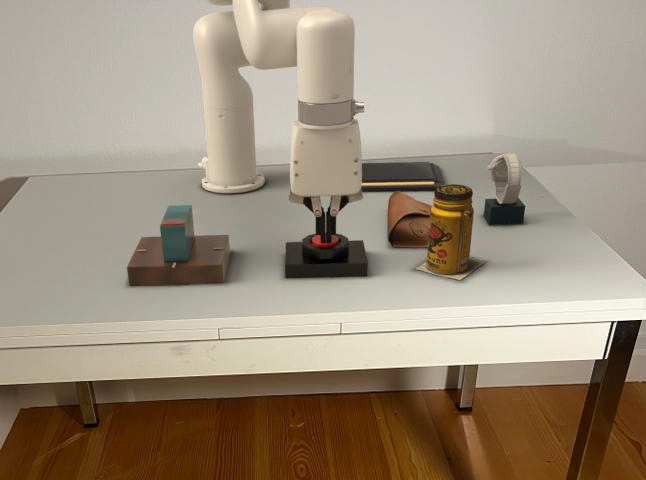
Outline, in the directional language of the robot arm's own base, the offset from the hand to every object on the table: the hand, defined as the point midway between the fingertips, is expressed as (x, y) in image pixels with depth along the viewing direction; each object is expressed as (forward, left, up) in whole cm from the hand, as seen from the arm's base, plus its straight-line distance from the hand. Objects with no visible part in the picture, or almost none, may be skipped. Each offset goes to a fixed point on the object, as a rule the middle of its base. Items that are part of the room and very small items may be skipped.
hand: (325, 239), depth 112 cm
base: (-17, -14, -4) cm, 23 cm away
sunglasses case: (+2, +21, -5) cm, 22 cm away
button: (0, 0, -2) cm, 2 cm away
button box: (0, 0, -4) cm, 4 cm away
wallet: (-16, +41, -5) cm, 44 cm away
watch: (+12, +33, -5) cm, 35 cm away
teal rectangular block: (-17, -14, -1) cm, 22 cm away
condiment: (+15, +11, -5) cm, 19 cm away
